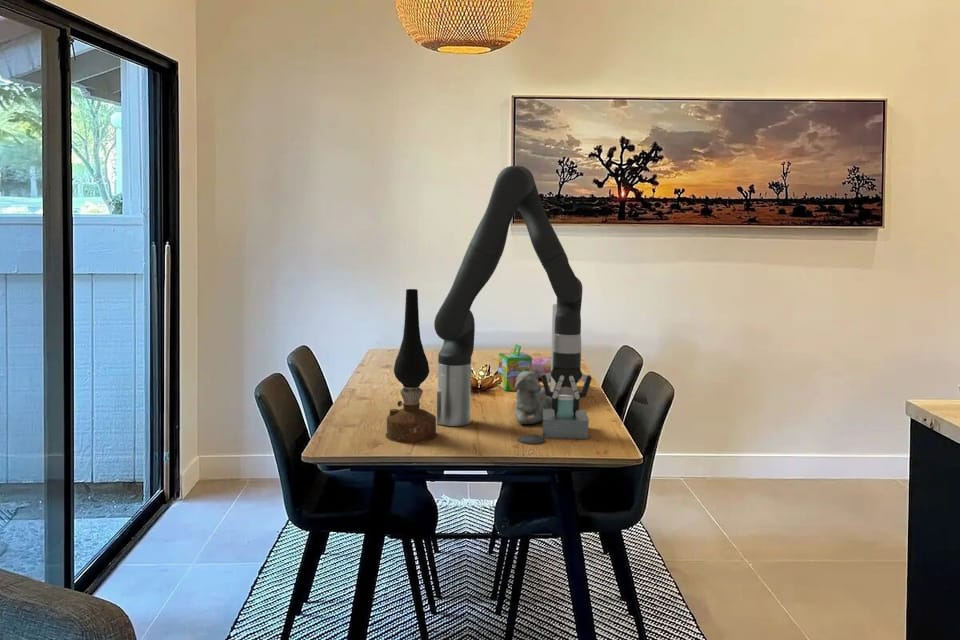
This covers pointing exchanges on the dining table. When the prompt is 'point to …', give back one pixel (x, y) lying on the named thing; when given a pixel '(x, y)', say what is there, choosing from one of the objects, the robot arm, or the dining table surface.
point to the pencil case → (541, 366)
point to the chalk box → (512, 367)
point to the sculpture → (530, 399)
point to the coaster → (531, 439)
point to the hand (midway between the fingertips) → (565, 411)
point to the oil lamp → (411, 383)
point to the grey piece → (564, 389)
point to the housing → (565, 425)
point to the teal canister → (565, 406)
